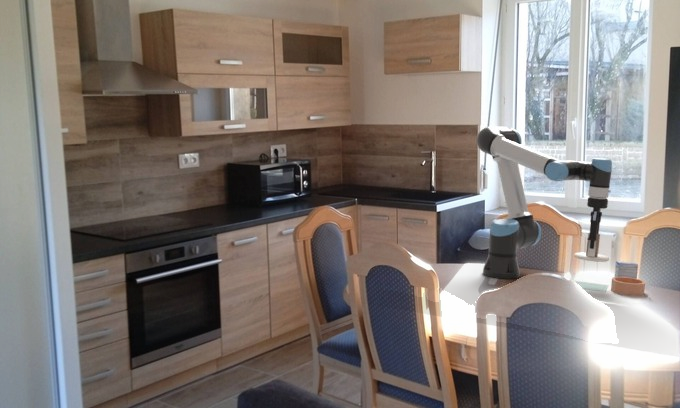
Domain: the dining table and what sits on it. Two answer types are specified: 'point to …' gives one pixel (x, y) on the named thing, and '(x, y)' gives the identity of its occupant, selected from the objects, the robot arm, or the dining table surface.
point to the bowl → (628, 286)
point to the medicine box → (626, 269)
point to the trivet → (593, 286)
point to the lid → (597, 256)
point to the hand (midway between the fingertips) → (591, 255)
